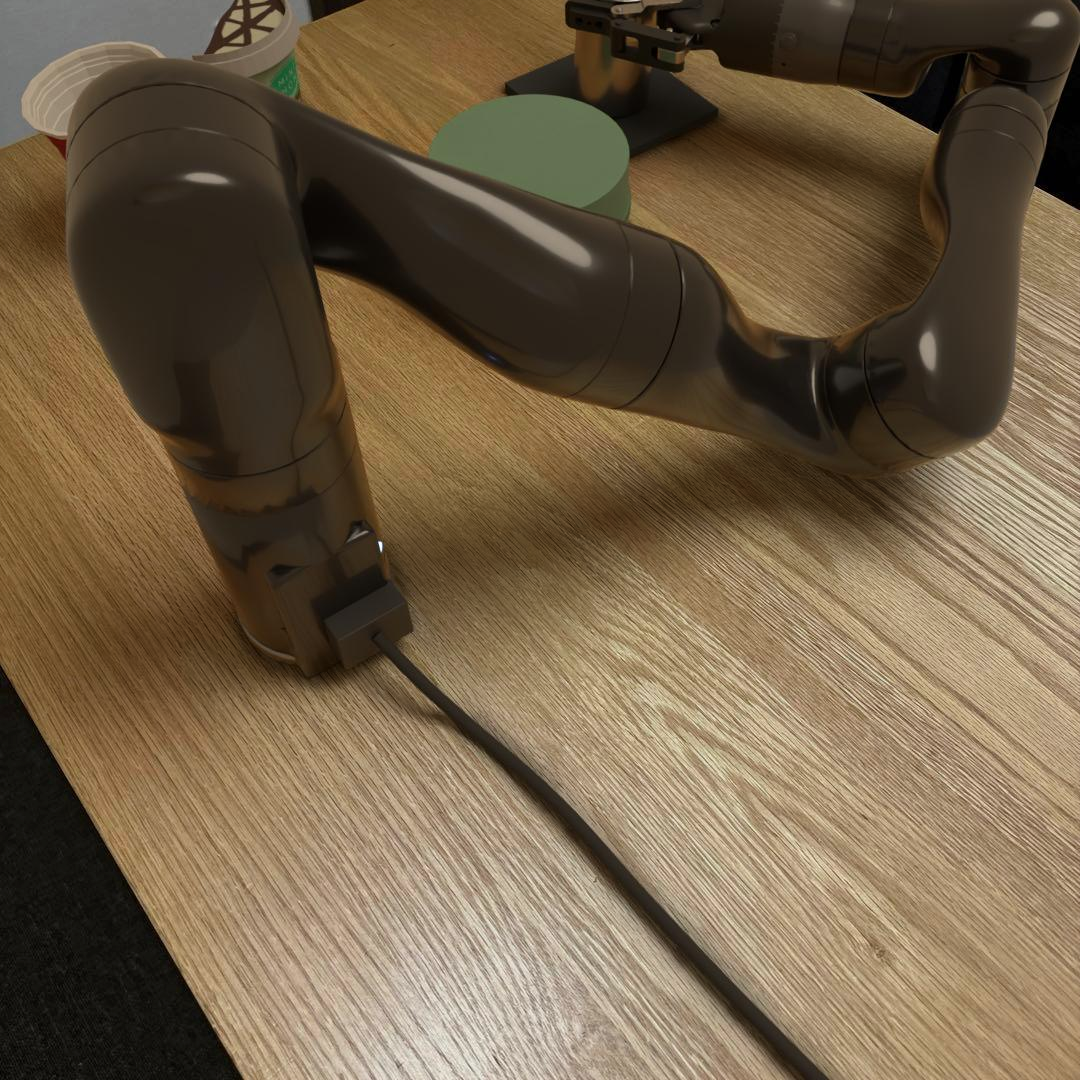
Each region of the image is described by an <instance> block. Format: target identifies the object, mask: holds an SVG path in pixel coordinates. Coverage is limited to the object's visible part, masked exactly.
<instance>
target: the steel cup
mask: <svg viewBox="0 0 1080 1080" xmlns="http://www.w3.org/2000/svg"><path fill="white" fill-rule="evenodd" d="M596 1H602V2H607V3H613V4H614V6H616V5H625V4H636V3H640V2H641V0H596ZM656 13H657V11H656V12H655V13H654V15H653V27H655V28H659V27H658V25H656ZM627 21H631V22H635V23H639V24H641V18H630V19H627ZM574 42H575V43H574V53H575V54H574V68H573V82H572V96H573V99H574V100H577V101H580V102H583V103H586V104H588V105H591V106H593V107H595V108H596V109H598V110H600V111H602V112H603V113H605V114H606V115H608V116H609V117H622V116H627V115H631V114H634V113H636V112H638V111H639V110H641V109H642V108H643V107H644V106H645V105H646V103H647V101H648V95H649V87H650V80H651V72H652V67H649V66H646V65H642V64H638V63H634V62H630V61H626V60H623V59H619V58H615V57H612V56H611V54H610V38H609V37H608V36H606V35H601V34H596V33H591V32H588V31H587V32H585V31H583V30H582V31H580V30H575V41H574ZM626 45H629V46H633V47H636V48H638V42H631V43H626Z"/></svg>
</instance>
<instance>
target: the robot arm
mask: <svg viewBox="0 0 1080 1080" xmlns="http://www.w3.org/2000/svg"><path fill="white" fill-rule="evenodd" d="M656 11H657V13H656V25H658V27H657V28H655V27H653V15H654V13H655V12H656ZM630 18H641V24H639V23H635V22H631V21H627V19H630ZM564 23H565V25H566V26H567V27H568V28H569V29H572V30H575V31H576V30H580V31H582V30H583V31H585V32H587V31H588V32H591V33H596V34H601V35H606V36H608V37H609V38H610V54H611V56H612V57H615V58H619V59H623V60H626V61H630V62H634V63H638V64H642V65H646V66H649V67H653V68H657V69H661V70H665V71H668V72H669V73H671V74H672V73H673V74H680V73H682V72H683V71H684V70H685V63H686V61H685V60H686V56H687V55H688V54H689V52H690V51H712V52H713V53H714V54H715V55H716V56H717V59H718V62H719V65H720V66H721V67H722V68H724V69H725V70H726V69H727V70H731V71H738V72H742V73H747V74H752V75H757V76H761V77H762V76H763V77H767V78H771V79H772V78H773V79H778V80H784V81H789V82H793V83H798V84H803V85H804V84H805V85H813V86H814V85H815V86H831V87H839V88H843V89H848V90H849V89H850V90H854V91H858V92H864V93H868V94H875V95H879V96H883V97H884V96H886V97H891V98H907V97H910V96H912V95H913V94H915V93H916V92H917V91H918V90H919V88H920V87H921V86H922V84H923V82H924V81H925V79H926V76H927V75H928V72H929V71H930V69H931V66H932V65H933V63H935V61H936V60H937V59H941V58H943V57H948V56H953V55H959V54H967V56H966V60H965V63H964V68H963V72H962V74H961V78H960V82H959V85H958V89H957V93H956V95H955V101H954V102H953V106H952V107H951V109H950V110H949V112H948V113H947V115H946V117H945V119H944V120H943V122H942V124H941V127H940V129H939V132H938V134H937V137H936V138H935V139H936V140H935V142H934V145H933V148H932V150H931V153H930V155H929V158H928V160H927V163H926V166H925V169H924V173H923V175H922V179H921V183H920V189H919V213H920V217H921V221H922V224H923V228H924V229H925V231H926V233H927V235H928V238H930V241H931V243H932V244H933V246H934V247H935V248H936V249H937V251H938V253H939V257H938V260H937V262H936V264H935V266H934V268H933V270H932V272H931V274H930V275H929V278H927V280H926V282H925V284H924V285H923V287H922V289H920V291H919V293H918V294H917V295H916V296H915V298H913V299H912V300H911V301H910V302H906V303H902V304H901V303H900V304H899V305H896V306H894V307H892V308H889V309H887V310H885V311H884V312H882V313H880V314H877V315H876V316H874V317H871V318H870V319H868V320H866V321H864V322H862V323H860V324H858V325H856V326H854V327H852V328H849V329H848V330H846V331H844V332H842V333H839V334H834V335H831V336H823V337H816V336H807V335H801V334H796V333H791V332H788V331H785V330H781V329H778V328H775V327H771V326H768V325H764V324H762V323H759V322H758V321H754V320H753V319H751V318H749V317H748V315H746V314H745V312H744V311H743V309H742V307H741V306H740V304H739V302H738V301H737V299H736V298H735V297H736V296H735V295H734V294H733V292H732V291H731V290H730V288H729V286H728V285H727V283H726V282H725V281H724V279H723V278H722V276H721V275H720V273H718V271H717V270H716V269H715V268H714V266H713V265H712V264H711V263H710V262H709V261H708V260H707V259H706V258H705V257H704V256H702V254H700V253H699V252H698V251H697V250H696V249H694V248H692V247H691V246H689V245H687V244H686V243H683V242H681V241H679V240H677V239H675V238H673V237H670V236H668V235H666V234H663V233H660V232H658V231H654V230H651V229H649V228H646V227H642V226H640V225H636V224H634V223H631V222H630V223H628V222H625V221H622V220H619V219H616V218H613V217H610V216H607V215H603V214H600V213H597V212H593V211H590V210H586V209H582V208H579V207H575V206H571V205H567V204H564V203H561V202H557V201H554V200H552V199H549V198H546V197H543V196H540V195H537V194H535V193H532V192H529V191H526V190H523V189H520V188H518V187H515V186H512V185H509V184H506V183H504V182H500V181H497V180H495V179H492V178H489V177H486V176H483V175H480V174H477V173H474V172H471V171H468V170H465V169H462V168H459V167H455V166H452V165H449V164H446V163H443V162H440V161H437V160H434V159H431V158H428V157H427V156H425V155H422V154H420V153H418V152H415V151H412V150H410V149H407V148H406V147H405V148H404V147H402V146H399V145H397V144H395V143H392V142H391V141H388V140H385V139H384V138H381V137H379V136H377V135H374V134H372V133H370V132H368V131H365V130H364V129H361V128H359V127H356V126H355V125H352V124H351V123H348V122H346V121H344V120H342V119H339V118H337V117H336V116H333V115H331V114H328V113H327V112H325V111H322V110H320V109H318V108H316V107H314V106H312V105H309V104H307V103H305V102H303V101H302V102H301V101H298V100H296V99H294V98H292V97H290V96H288V95H285V94H283V93H281V92H279V91H277V90H275V89H273V88H270V87H268V86H266V85H264V84H261V83H259V82H257V81H255V80H252V79H250V78H248V77H245V76H243V75H240V74H238V73H235V72H233V71H230V70H228V69H225V68H222V67H219V66H216V65H212V64H208V63H205V62H200V61H194V60H193V59H189V58H183V57H181V58H180V57H166V58H149V59H143V60H136V61H130V62H127V63H125V64H122V65H119V66H117V67H114V68H111V69H109V70H107V71H106V72H104V73H103V74H101V75H100V76H98V77H97V78H95V79H94V80H93V81H92V82H91V83H90V84H89V85H88V86H87V87H86V88H85V89H84V90H83V91H82V92H81V94H80V95H79V97H78V98H77V100H76V102H75V104H74V106H73V109H72V112H71V116H70V120H69V124H68V129H67V142H66V161H65V253H66V261H67V262H66V263H67V267H68V270H69V274H70V278H71V281H72V284H73V287H74V289H75V293H76V295H77V298H78V300H79V303H80V305H81V307H82V309H83V313H84V314H85V317H86V319H87V321H88V324H89V325H90V327H91V329H92V332H93V333H94V336H95V337H96V339H97V341H98V343H99V345H100V347H101V349H102V351H103V354H104V355H105V357H106V360H107V361H108V363H109V365H110V367H111V369H112V371H113V373H114V375H115V377H116V378H117V381H118V382H119V385H120V386H121V388H122V390H123V392H124V394H125V396H126V398H127V400H128V402H129V403H130V405H131V407H132V409H133V410H134V412H135V413H136V415H137V416H138V417H139V419H140V420H141V421H142V422H143V423H144V424H145V425H146V426H147V427H148V428H150V429H151V430H152V431H154V432H155V433H157V435H158V437H159V440H160V442H161V443H162V446H163V448H164V450H165V452H166V455H167V457H168V459H169V461H170V464H171V466H172V468H173V470H174V472H175V475H176V478H177V480H178V483H179V485H180V487H181V489H182V491H183V493H184V496H185V497H186V501H187V503H188V505H189V507H190V510H191V512H192V514H193V516H194V519H195V520H196V523H197V525H198V527H199V530H200V533H201V534H202V537H203V539H204V541H205V544H206V545H207V548H208V551H209V553H210V554H211V556H212V559H213V561H214V564H215V566H216V568H217V570H218V573H219V575H220V578H221V579H222V582H223V584H224V586H225V588H226V591H227V593H228V595H229V597H230V599H231V601H232V603H233V606H234V608H235V610H236V615H237V618H238V620H239V623H240V626H241V628H242V630H243V632H244V634H245V636H246V638H247V639H248V640H249V641H250V643H251V644H252V645H253V646H254V648H256V649H257V650H258V651H259V652H261V653H262V654H264V655H265V656H266V657H268V658H271V659H273V660H275V661H277V662H280V663H283V664H287V665H293V666H298V668H299V669H300V670H301V671H302V673H303V674H304V675H305V677H307V678H312V677H315V676H316V675H318V674H320V673H321V672H323V671H325V670H326V669H328V668H330V667H332V666H334V665H335V664H337V663H339V662H341V664H342V665H343V667H344V669H346V670H349V669H351V668H353V667H355V666H357V665H358V664H360V663H362V662H364V661H365V660H367V659H369V658H370V657H372V656H374V655H376V654H377V653H379V652H382V653H383V655H384V656H385V657H386V658H387V659H388V660H389V661H390V662H391V663H392V664H393V665H394V666H395V667H396V668H397V669H398V670H399V671H400V673H402V674H403V676H404V677H405V678H407V680H408V681H410V682H411V684H412V685H414V686H415V687H416V689H418V690H419V691H420V692H421V693H422V694H423V695H424V696H425V697H426V698H427V699H428V700H429V701H430V702H432V703H433V704H434V705H435V706H436V707H437V708H438V709H439V710H441V712H443V713H444V714H445V715H446V716H447V717H448V718H449V719H451V720H452V721H453V722H454V723H455V724H456V725H458V726H459V727H460V728H461V729H462V730H463V731H464V732H466V734H468V735H469V736H470V737H471V738H472V739H473V740H475V741H476V742H477V743H478V744H479V745H481V747H483V748H484V749H485V750H486V751H488V753H490V754H491V755H492V756H493V757H494V758H496V759H497V760H498V761H500V763H502V764H503V765H504V766H505V767H506V768H508V769H509V770H510V771H511V772H512V773H513V774H515V776H517V777H518V778H519V779H520V780H521V781H522V782H523V783H525V784H526V786H528V787H529V788H530V789H531V790H532V791H533V792H534V793H536V794H537V795H538V796H539V798H541V799H542V800H543V801H544V802H545V803H546V804H547V805H548V806H549V807H550V808H551V809H552V810H553V811H554V812H555V813H556V815H558V816H559V817H560V818H561V819H562V820H563V821H564V822H565V823H566V825H567V826H568V827H569V828H570V829H571V830H572V831H573V832H574V833H575V834H576V835H577V836H578V837H579V838H580V840H581V841H582V842H583V843H584V844H585V845H586V846H587V848H588V849H589V850H590V851H591V853H593V854H594V856H595V857H596V858H597V859H598V860H599V861H600V863H601V864H602V865H603V866H604V867H605V869H606V870H607V871H608V872H609V873H610V875H612V876H613V877H614V879H615V880H616V881H617V882H618V884H620V886H621V887H622V888H623V890H625V892H627V894H628V895H629V896H630V897H631V898H632V899H633V900H634V902H635V903H636V904H637V905H638V906H639V907H640V909H642V910H643V911H644V912H645V913H646V914H647V916H648V917H649V918H650V920H652V921H653V922H654V923H655V924H656V926H658V927H659V929H660V930H661V931H662V932H663V933H664V934H665V935H666V937H668V939H670V940H671V942H672V943H673V944H674V945H675V946H676V947H677V948H678V949H679V950H680V952H682V954H683V955H684V956H685V957H686V958H687V959H688V960H689V961H690V962H691V963H692V965H694V967H696V969H697V970H698V971H699V972H700V973H701V974H702V975H703V976H704V977H705V978H706V979H707V980H708V982H710V983H711V984H712V985H713V987H714V988H715V989H716V990H717V991H718V992H719V993H720V994H721V995H722V996H723V997H724V998H725V999H726V1000H727V1001H728V1002H729V1003H730V1004H731V1005H732V1006H733V1007H734V1008H735V1009H736V1010H737V1012H739V1013H740V1015H741V1016H743V1017H744V1018H745V1020H746V1021H747V1022H748V1023H749V1024H750V1025H751V1026H752V1027H753V1028H754V1029H755V1030H756V1031H757V1032H758V1033H759V1034H760V1035H761V1037H763V1038H764V1039H765V1040H766V1041H767V1042H768V1043H769V1044H770V1045H771V1046H772V1047H773V1048H774V1049H775V1051H777V1052H778V1053H779V1055H780V1056H781V1057H783V1059H784V1060H786V1061H787V1062H788V1064H789V1065H790V1066H792V1067H793V1068H794V1070H795V1071H797V1073H799V1075H801V1077H803V1079H805V1080H831V1079H830V1078H829V1077H828V1076H827V1075H826V1074H825V1073H824V1072H823V1071H822V1070H821V1069H820V1068H819V1067H818V1066H817V1065H816V1064H815V1063H814V1062H812V1060H811V1059H810V1058H809V1057H808V1056H806V1054H804V1052H803V1051H801V1049H799V1048H798V1047H797V1045H795V1043H793V1042H792V1041H791V1039H789V1038H788V1036H787V1035H786V1034H785V1033H783V1031H782V1030H781V1029H780V1028H779V1027H778V1026H777V1025H776V1024H775V1023H774V1022H773V1021H772V1020H771V1019H770V1018H769V1017H768V1016H767V1015H766V1014H765V1013H764V1012H763V1011H762V1010H761V1009H760V1008H759V1007H758V1006H757V1005H756V1004H755V1003H754V1002H753V1001H752V1000H751V999H750V998H749V997H748V996H747V995H746V993H744V992H743V991H742V990H741V988H740V987H738V986H737V985H736V984H735V983H734V982H733V981H732V979H730V977H728V975H727V974H726V973H725V972H724V971H723V970H722V969H721V968H720V967H719V966H718V965H717V964H716V963H715V962H714V961H713V960H712V959H711V957H709V956H708V955H707V953H706V952H705V951H703V949H702V948H701V947H700V945H698V944H697V943H696V942H695V941H694V940H693V939H692V938H691V936H690V935H689V934H688V933H687V932H685V930H684V929H683V928H682V927H681V926H680V925H679V923H677V922H676V920H675V919H674V918H673V917H672V916H671V915H670V914H669V913H668V912H667V911H666V910H665V909H664V908H663V907H662V906H661V904H660V903H659V902H658V901H657V900H656V899H655V898H654V897H653V896H652V895H651V893H649V891H648V890H646V888H645V887H644V886H643V885H642V884H641V883H640V882H639V880H638V879H637V878H636V877H635V876H634V874H632V873H631V871H629V869H628V868H627V867H626V866H625V864H624V863H623V862H622V861H621V860H620V858H618V856H616V855H615V853H614V852H613V851H612V850H611V848H609V846H608V845H607V844H606V843H605V842H604V841H603V840H602V838H601V837H600V836H599V835H598V834H597V833H596V832H595V831H594V829H592V827H591V826H590V825H589V824H588V823H587V822H586V820H584V819H583V817H582V816H580V814H579V813H578V812H577V811H576V810H575V809H574V808H573V807H572V806H571V804H569V803H568V802H567V801H566V800H565V799H564V798H563V797H562V796H561V795H560V794H559V793H558V792H557V791H556V790H555V789H554V788H553V787H552V786H550V784H548V782H546V781H545V780H544V779H543V778H542V777H541V776H540V775H539V774H537V773H536V772H535V770H533V769H532V768H531V767H530V766H529V765H528V764H526V763H525V762H524V761H523V760H522V759H521V758H520V757H518V756H517V755H516V753H513V752H512V751H511V750H510V749H509V748H507V746H505V745H504V744H503V743H502V742H500V741H499V740H498V739H496V737H494V736H493V735H492V734H490V732H488V731H487V730H486V729H485V728H484V727H483V726H482V725H480V724H479V723H478V722H476V720H475V719H473V718H472V717H471V716H470V715H469V714H468V713H466V711H464V710H463V709H462V708H461V707H460V706H459V705H457V704H456V703H455V702H454V701H453V700H452V699H450V697H448V695H446V694H445V693H444V692H443V691H442V690H440V688H438V686H436V685H435V684H434V683H433V681H431V680H430V679H429V678H428V677H427V676H426V675H425V674H424V673H423V672H422V671H421V670H420V668H418V667H417V666H416V665H415V664H414V663H413V662H412V661H411V659H409V658H408V657H407V656H406V655H405V654H404V653H403V651H401V650H400V648H398V646H397V645H396V644H394V643H396V642H398V641H400V640H401V639H403V638H404V637H406V636H408V635H409V634H411V633H413V632H414V630H415V629H414V627H413V622H412V617H411V613H410V608H409V605H408V601H407V600H406V599H405V596H403V594H402V593H401V592H400V590H399V589H398V588H397V586H396V581H395V577H394V573H393V569H392V566H391V563H390V562H389V559H388V556H387V551H386V547H385V543H384V539H383V536H382V532H381V528H380V523H379V519H378V516H377V511H376V507H375V503H374V499H373V496H372V491H371V487H370V484H369V479H368V474H367V471H366V467H365V466H366V465H365V463H364V458H363V455H362V451H361V446H360V442H359V437H358V433H357V430H356V429H357V428H356V423H355V420H354V415H353V412H352V408H351V404H350V400H349V397H348V396H349V395H348V392H347V389H346V383H345V378H344V375H343V370H342V365H341V361H340V357H339V352H338V349H337V347H336V345H335V342H334V341H333V338H332V333H331V330H330V326H329V322H328V317H327V313H326V310H325V309H326V308H325V305H324V301H323V296H322V293H321V288H320V285H319V280H318V275H317V272H316V270H317V271H321V272H324V273H327V274H331V275H333V276H336V277H339V278H342V279H345V280H348V281H350V282H352V283H355V284H357V285H359V286H362V287H364V288H366V289H368V290H370V291H372V292H374V293H376V294H377V295H379V296H382V297H383V298H385V299H387V300H388V301H390V302H391V303H393V304H395V305H396V306H398V307H399V308H401V309H402V310H404V311H406V312H407V313H409V314H410V315H411V316H413V317H415V318H416V319H417V320H419V321H420V322H421V323H423V324H424V325H425V326H427V327H428V328H429V329H431V330H432V331H433V332H435V333H436V334H438V335H439V336H440V337H442V338H443V339H444V340H446V341H447V342H449V343H451V344H452V346H455V348H457V349H459V350H460V351H462V352H463V353H465V354H466V355H468V356H469V357H470V358H472V359H474V360H475V361H477V362H478V363H480V364H481V365H483V366H484V367H486V368H487V369H490V370H491V371H493V372H495V373H497V374H498V375H499V376H501V377H503V378H506V379H507V380H509V381H510V382H512V383H514V384H517V385H518V386H521V387H523V388H526V389H528V390H531V391H534V392H538V393H541V394H544V395H547V396H551V397H555V398H560V399H563V400H568V401H573V402H577V403H581V404H584V405H589V406H594V407H599V408H602V409H607V410H611V411H616V412H622V413H628V414H632V415H633V414H634V415H639V416H645V417H649V418H654V419H658V420H661V421H667V422H670V423H675V424H678V425H682V426H686V427H691V428H696V429H700V430H703V431H709V432H714V433H720V434H725V435H728V436H732V437H737V438H741V439H743V440H746V441H749V442H752V443H755V444H758V445H761V446H763V447H766V448H769V449H771V450H774V451H777V452H780V453H782V454H785V455H787V456H790V457H793V458H794V459H798V460H801V461H802V462H805V463H808V464H810V465H813V466H816V467H818V468H822V469H825V470H828V471H831V472H834V473H836V474H839V475H843V476H848V477H850V478H855V479H861V480H862V479H863V480H872V479H873V480H875V479H881V478H888V477H893V476H896V475H901V474H903V473H905V472H909V471H911V470H915V469H918V468H921V467H923V466H927V465H928V464H931V463H934V462H937V461H940V460H943V459H945V458H949V457H951V456H954V455H957V454H959V453H962V452H964V451H966V450H969V449H971V448H973V447H975V446H977V445H979V444H981V443H983V442H984V441H985V440H987V439H988V438H989V437H990V436H991V435H992V434H994V433H995V432H996V431H997V429H998V428H999V426H1000V425H1001V423H1002V421H1003V419H1004V417H1005V414H1006V412H1007V410H1008V405H1009V402H1010V398H1011V394H1012V388H1013V382H1014V375H1015V366H1016V355H1017V353H1016V352H1017V339H1018V338H1017V336H1018V322H1019V321H1018V319H1019V308H1020V293H1021V292H1020V291H1021V290H1020V289H1021V268H1022V267H1021V265H1022V264H1021V263H1022V246H1023V235H1024V228H1025V222H1026V218H1027V212H1028V209H1029V205H1030V201H1031V198H1032V195H1033V193H1034V189H1035V185H1036V182H1037V180H1038V179H1037V178H1038V175H1039V172H1040V169H1041V165H1042V162H1043V159H1044V156H1045V151H1046V148H1047V147H1046V146H1047V140H1048V131H1049V129H1050V126H1051V124H1052V120H1053V118H1054V116H1055V113H1056V110H1057V107H1058V104H1059V102H1060V99H1061V96H1062V92H1063V90H1064V87H1065V85H1066V82H1067V79H1068V76H1069V73H1070V71H1071V68H1072V65H1073V62H1074V59H1075V57H1076V54H1077V51H1078V49H1079V46H1080V10H1079V8H1078V7H1077V6H1076V4H1075V3H1073V1H1072V0H641V2H640V3H636V4H625V5H616V6H614V4H613V3H607V2H602V1H596V0H566V2H565V4H564ZM631 42H638V48H636V47H633V46H629V45H626V43H631Z"/></svg>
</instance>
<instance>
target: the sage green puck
mask: <svg viewBox="0 0 1080 1080" xmlns="http://www.w3.org/2000/svg"><path fill="white" fill-rule="evenodd" d="M629 156H630V154H629V145H628V142H627V139H626V137H625V135H624V133H623V131H622V130H621V128H620V127H619V126H618V125H617V123H616V122H615V121H613V120H612V119H611V118H610V117H609V116H608V115H606V114H605V113H603V112H602V111H600V110H598V109H596V108H595V107H593V106H591V105H588V104H586V103H583V102H580V101H577V100H573V99H570V98H565V97H560V96H553V95H539V94H529V95H515V96H511V95H508V96H502V97H498V98H494V99H490V100H487V101H484V102H481V103H478V104H476V105H474V106H470V107H469V108H467V109H465V110H463V111H461V112H460V113H458V114H457V115H455V116H454V117H452V118H451V119H450V120H448V121H447V122H446V123H444V124H443V126H442V127H441V128H440V129H439V130H438V131H437V133H436V134H435V136H434V137H433V139H432V141H431V143H430V145H429V147H428V152H427V156H426V157H428V158H431V159H434V160H437V161H440V162H443V163H446V164H449V165H452V166H455V167H459V168H462V169H465V170H468V171H471V172H474V173H477V174H480V175H483V176H486V177H489V178H492V179H495V180H497V181H500V182H504V183H506V184H509V185H512V186H515V187H518V188H520V189H523V190H526V191H529V192H532V193H535V194H537V195H540V196H543V197H546V198H549V199H552V200H554V201H557V202H561V203H564V204H567V205H571V206H575V207H579V208H582V209H586V210H590V211H593V212H597V213H600V214H603V215H607V216H610V217H613V218H616V219H619V220H622V221H625V222H628V223H631V222H630V220H629V218H630V214H631V207H632V192H631V191H632V190H631V186H630V158H629Z"/></svg>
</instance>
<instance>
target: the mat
mask: <svg viewBox="0 0 1080 1080" xmlns="http://www.w3.org/2000/svg"><path fill="white" fill-rule="evenodd" d="M574 54H575V52H573V53H570V54H568V55H566V56H564V57H561V58H558V59H556V60H555V61H551V62H550V63H546V64H545V65H542V66H540V67H537V68H536V69H533V70H531V71H529V72H525V73H524V74H521V75H519V76H517V77H514V78H512V79H510V80H508V81H505V82H504V91H505V93H507V94H508V95H509V96H515V95H529V94H539V95H553V96H560V97H565V98H570V99H573V96H572V82H573V68H574ZM573 100H574V99H573ZM610 118H611V119H612V120H613V121H615V122H616V123H617V125H618V126H619V127H620V128H621V130H622V131H623V133H624V135H625V137H626V139H627V142H628V145H629V154H630V156H629V159H631V158H634V157H635V156H637V155H639V154H642V153H644V152H646V151H648V150H650V149H652V148H655V147H656V146H659V145H661V144H663V143H665V142H667V141H669V140H671V139H673V138H676V137H677V136H680V135H682V134H684V133H686V132H688V131H691V130H693V129H694V128H697V127H699V126H701V125H703V124H706V123H708V122H710V121H711V120H714V119H716V118H719V108H718V106H716V105H715V104H713V103H712V102H710V101H709V100H707V98H705V97H704V96H702V95H701V94H700V93H698V92H696V91H695V90H694V89H692V88H691V87H690V86H688V85H687V84H686V83H685V82H683V81H682V80H680V79H679V78H678V77H676V76H675V75H673V74H672V72H669V71H665V70H661V69H657V68H653V67H652V72H651V80H650V87H649V95H648V101H647V103H646V105H645V106H644V107H643V108H642V109H641V110H639V111H638V112H636V113H634V114H631V115H627V116H622V117H610Z"/></svg>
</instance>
